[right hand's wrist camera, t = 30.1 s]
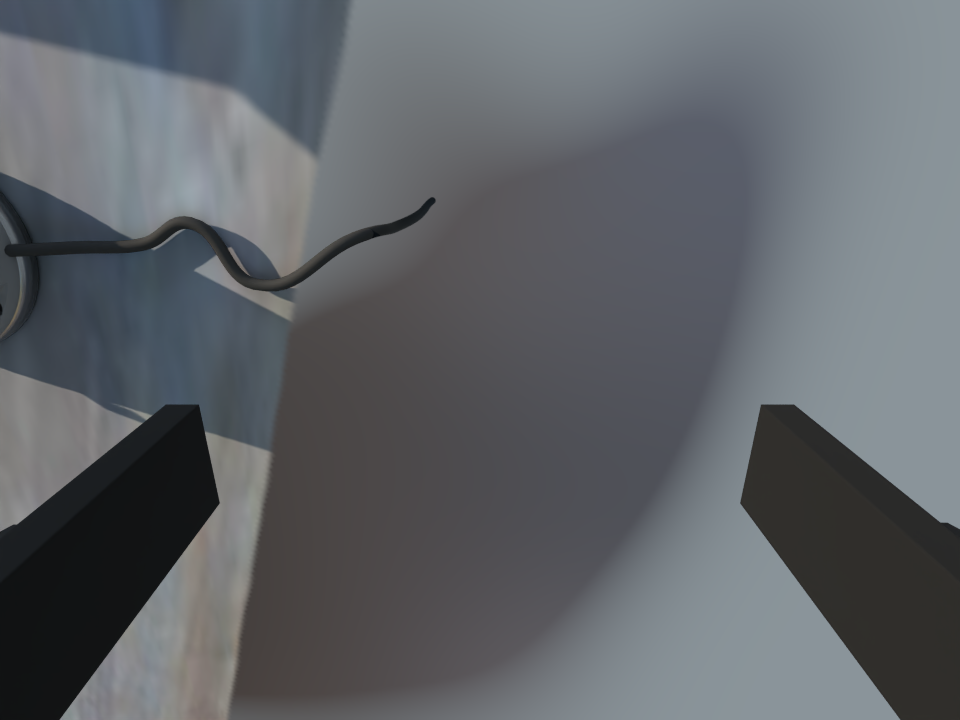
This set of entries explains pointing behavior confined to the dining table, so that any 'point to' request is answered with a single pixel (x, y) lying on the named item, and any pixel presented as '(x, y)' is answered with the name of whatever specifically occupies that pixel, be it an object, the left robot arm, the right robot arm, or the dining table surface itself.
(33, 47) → the dining table surface
